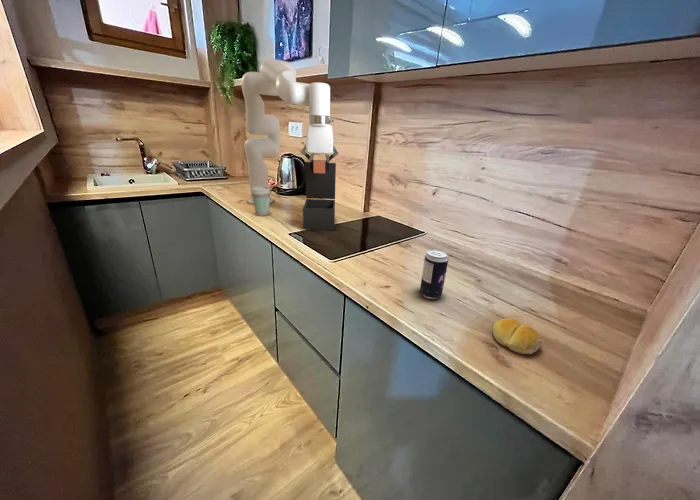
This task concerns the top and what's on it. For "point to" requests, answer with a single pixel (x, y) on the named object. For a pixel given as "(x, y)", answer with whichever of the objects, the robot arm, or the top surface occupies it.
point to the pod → (319, 166)
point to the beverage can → (434, 274)
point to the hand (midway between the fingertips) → (319, 171)
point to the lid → (320, 183)
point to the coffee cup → (261, 200)
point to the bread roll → (516, 336)
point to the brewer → (319, 214)
